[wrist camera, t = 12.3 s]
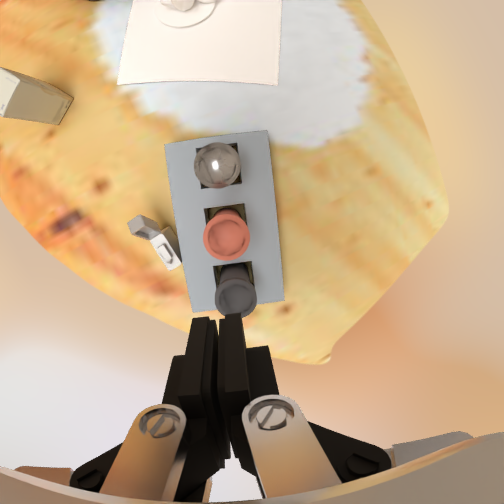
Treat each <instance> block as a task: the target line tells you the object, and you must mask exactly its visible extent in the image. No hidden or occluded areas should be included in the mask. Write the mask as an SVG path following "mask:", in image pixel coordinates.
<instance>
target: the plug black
mask: <svg viewBox="0 0 504 504" xmlns="http://www.w3.org/2000/svg"><path fill="white" fill-rule="evenodd" d="M256 304H257V295H256V291H255V288H254V287H253V285H252V284H251V283H250V279H249V274H248V269H247V267H246V265H245V264H244V263H243V262H240V263H232V264H224V265H223V266H222V268H221V271H220V284H219V286H218V287H217V289H216V292H215V305H216V308H217V309H218V311H219V312H220V313H221V314H222V315H224V316H225V314H232V313H240V312H241V316H242V318H243V317H246V316H247V315H249V314H250V313H251V312H252V311H253V310H254V309H255V307H256Z"/></svg>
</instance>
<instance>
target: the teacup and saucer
mask: <svg viewBox="0 0 504 504" xmlns="http://www.w3.org/2000/svg"><path fill="white" fill-rule="evenodd" d="M216 1H217V0H155V2H154V6H153V13H154V16H155V18H156V19H157V20H158V21H159V22H160V23H161V24H163V25H165V26H168V27H172V28H186V27H191V26H194V25H196V24H199V23H201V22H202V21H204V20H205V19H206V18H208V17H209V16H210V15H211V13H212V12H213V11H214V9H215V6H216Z"/></svg>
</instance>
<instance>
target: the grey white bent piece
mask: <svg viewBox="0 0 504 504" xmlns="http://www.w3.org/2000/svg"><path fill="white" fill-rule="evenodd" d="M127 224H128V226H129V229H130V232H131V234H132V235H134V236H137V237H140V238H143V239H146V240H151V241H150V242H151V244H152V245H153V247H154V248H155V250H156V252H157V253H158V255H159V257H160V258H161V260H162V261H163V263H164V264H165V265H166V267H167V268H168V270H170V271H171V270H172V269H174V268H176V267H178V266H179V265H181V263H182V257H181V251H180V246H179V240H178V238H177V237H176V235H175V234H174V232H173V230H172V229H171V227H170V226H168V227H166V228H164V229H163V230H160V228H159V226H158V224H157V222H155V221H153V220H151V219H149V218H147V217H145V216H143V215H138V216H136V217H135V218H133V219H132V220H131V221H129V222H128V223H127Z"/></svg>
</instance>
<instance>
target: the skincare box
mask: <svg viewBox="0 0 504 504" xmlns="http://www.w3.org/2000/svg"><path fill="white" fill-rule="evenodd" d="M72 100H73V98H72V97H71V96H69V95H68V94H66V93H65V92H63V91H61V90H60V89H58V88H56V87H54V86H53V85H51V84H49V83H46V82H44V81H41V80H38V79H35V78H33V77H30V76H27V75H24V74H21V73H18V72H15V71H12V70H8V69H5V68H2V67H0V116H1V117H6V118H14V119H21V120H28V121H35V122H42V123H48V124H54V125H59V123H60V121H61V119H62V118H63V116H64V114H65V112H66V111H67V109H68V107H69V105H70V104H71V102H72Z"/></svg>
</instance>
